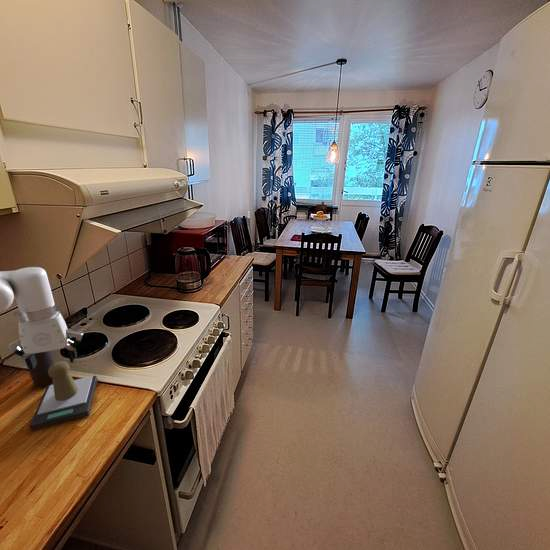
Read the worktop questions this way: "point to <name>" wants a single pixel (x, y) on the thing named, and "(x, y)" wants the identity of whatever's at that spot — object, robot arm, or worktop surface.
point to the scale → (64, 405)
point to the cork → (62, 381)
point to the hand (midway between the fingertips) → (54, 363)
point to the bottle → (42, 369)
